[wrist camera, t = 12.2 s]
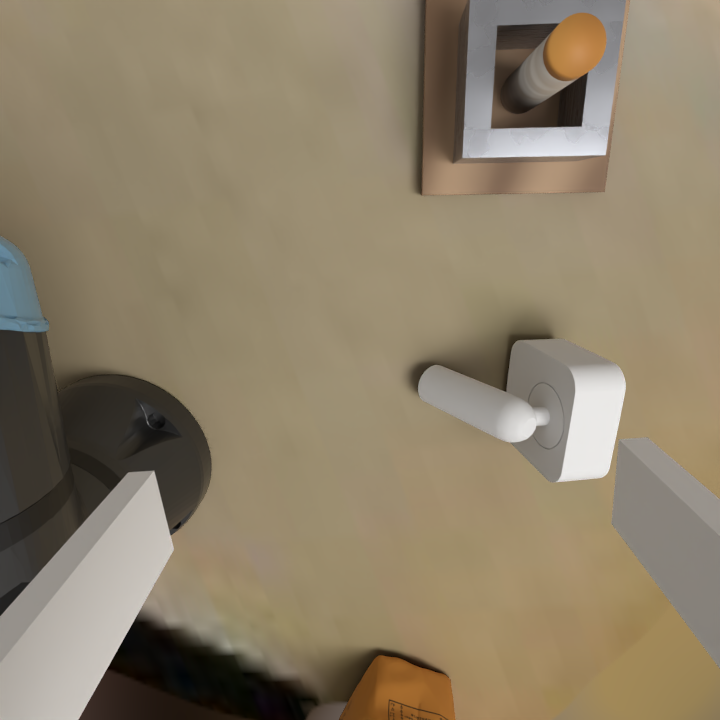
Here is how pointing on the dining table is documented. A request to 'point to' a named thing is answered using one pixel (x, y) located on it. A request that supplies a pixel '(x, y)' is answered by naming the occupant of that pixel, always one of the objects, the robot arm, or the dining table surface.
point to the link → (577, 100)
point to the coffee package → (400, 693)
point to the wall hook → (542, 406)
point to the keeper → (510, 105)
